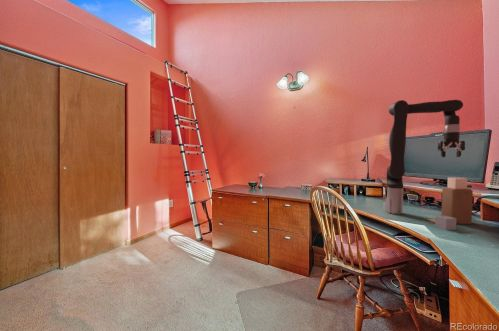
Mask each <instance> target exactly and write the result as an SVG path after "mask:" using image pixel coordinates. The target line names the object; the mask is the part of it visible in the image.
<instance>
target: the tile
mask: <svg viewBox="0 0 499 331" xmlns="http://www.w3.org/2000/svg"><path fill="white" fill-rule="evenodd" d="M424 220H425V221H426V222H430V223H432V224H435V218H424Z"/></svg>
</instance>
